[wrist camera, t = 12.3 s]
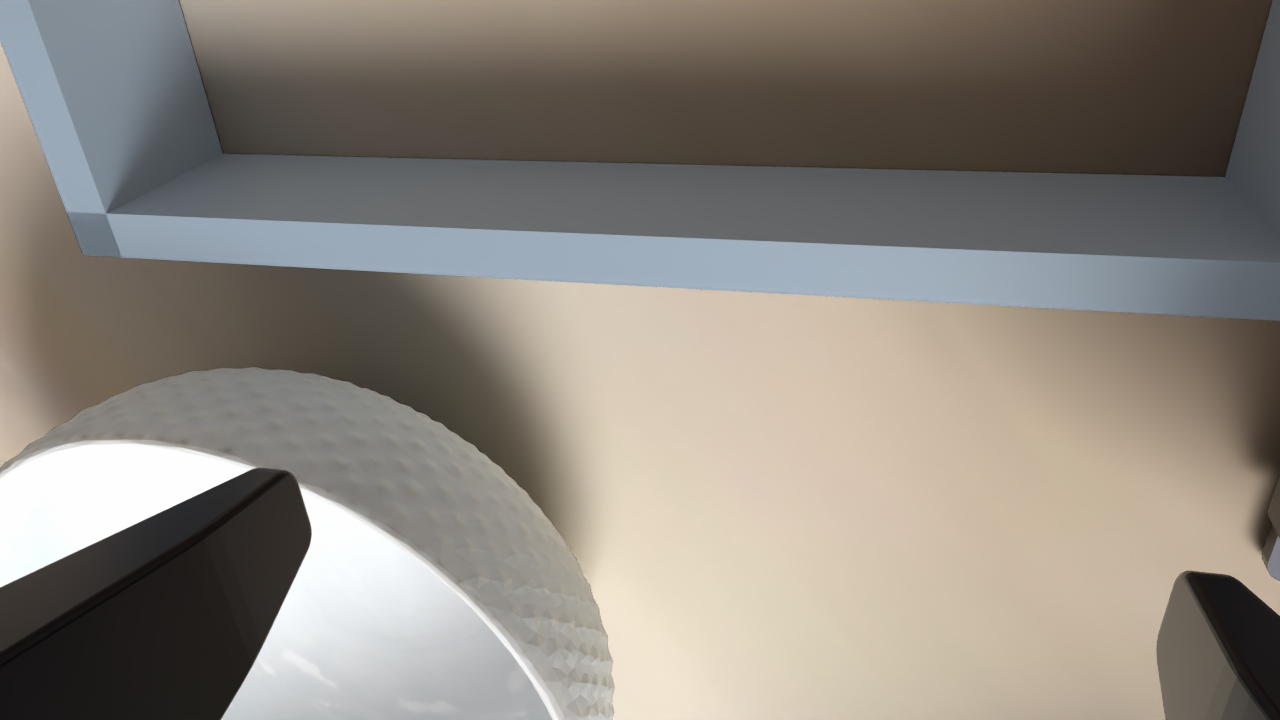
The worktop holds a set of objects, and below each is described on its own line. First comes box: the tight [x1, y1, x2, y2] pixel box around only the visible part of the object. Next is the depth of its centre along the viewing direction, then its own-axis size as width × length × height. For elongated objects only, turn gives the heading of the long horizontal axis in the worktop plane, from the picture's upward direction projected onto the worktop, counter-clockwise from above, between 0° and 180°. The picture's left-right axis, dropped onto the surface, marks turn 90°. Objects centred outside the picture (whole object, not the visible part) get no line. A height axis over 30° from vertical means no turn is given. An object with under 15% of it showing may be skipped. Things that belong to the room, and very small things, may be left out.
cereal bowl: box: [0, 367, 614, 720], centre depth 25 cm, size 17×17×7 cm
